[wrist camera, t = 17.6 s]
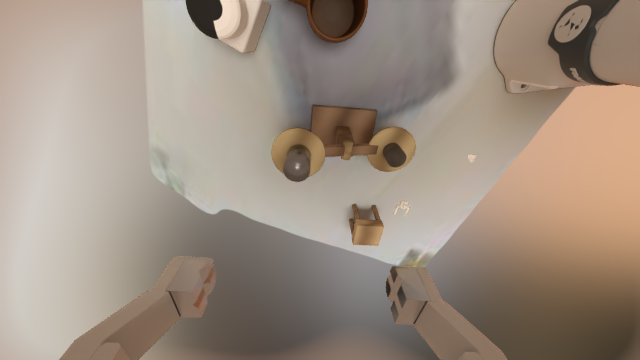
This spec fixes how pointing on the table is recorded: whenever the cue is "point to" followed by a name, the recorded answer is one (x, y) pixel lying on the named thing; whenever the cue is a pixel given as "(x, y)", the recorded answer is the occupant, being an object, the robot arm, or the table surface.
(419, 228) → the table surface
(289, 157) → the grey domed cylinder
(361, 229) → the tan peg block
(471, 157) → the beige angular frame
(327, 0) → the mug
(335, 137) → the balance
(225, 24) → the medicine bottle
